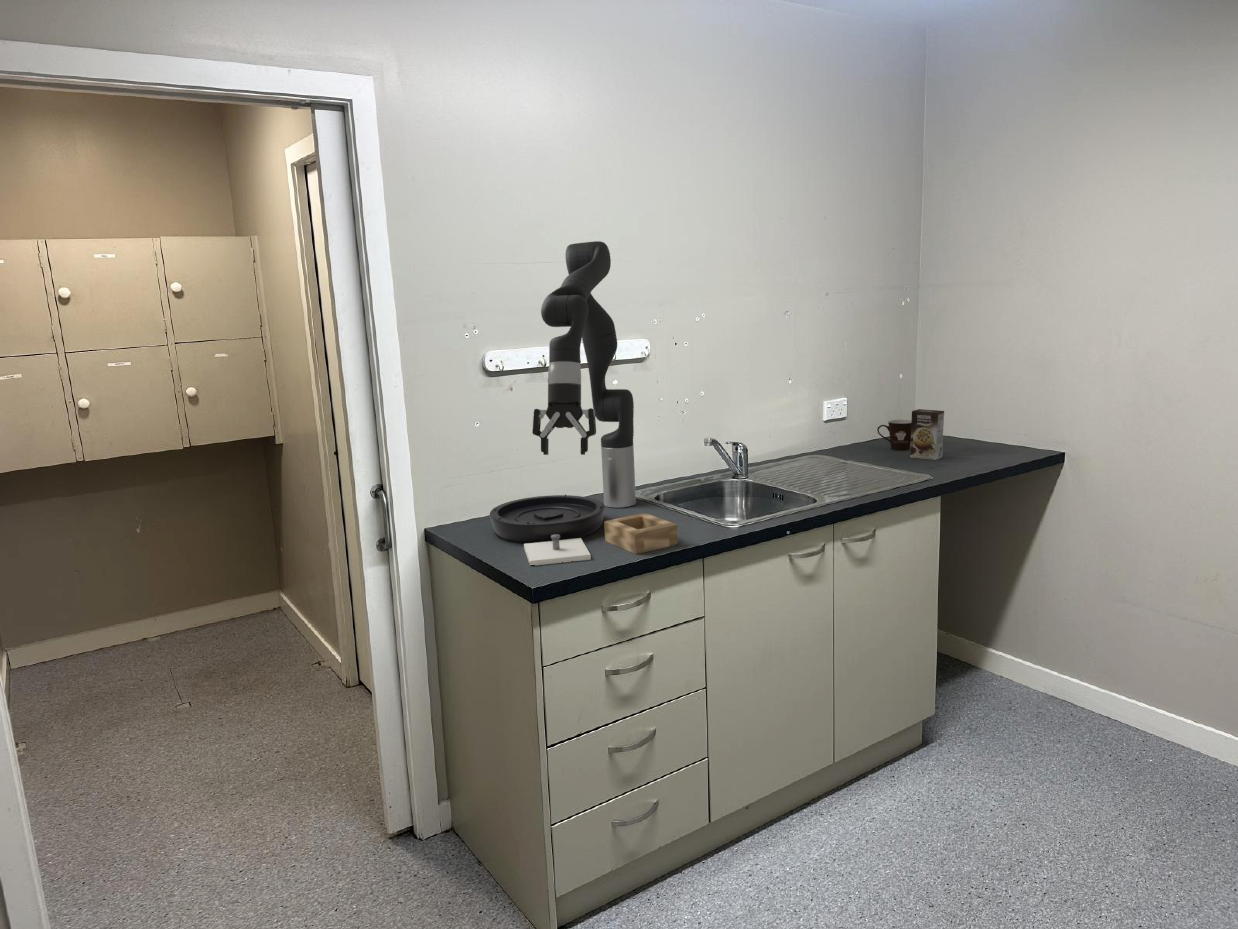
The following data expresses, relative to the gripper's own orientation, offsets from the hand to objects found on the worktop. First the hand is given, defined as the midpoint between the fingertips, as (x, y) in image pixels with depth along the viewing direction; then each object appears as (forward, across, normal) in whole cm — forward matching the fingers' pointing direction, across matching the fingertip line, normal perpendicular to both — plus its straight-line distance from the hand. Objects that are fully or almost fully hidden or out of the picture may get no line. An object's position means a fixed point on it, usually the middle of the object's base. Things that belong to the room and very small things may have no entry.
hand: (564, 454), depth 193 cm
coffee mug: (-5, -96, -128) cm, 161 cm away
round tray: (+19, +10, -30) cm, 37 cm away
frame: (+21, -16, -17) cm, 31 cm away
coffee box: (-2, -103, -112) cm, 152 cm away
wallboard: (+23, +3, -9) cm, 25 cm away
